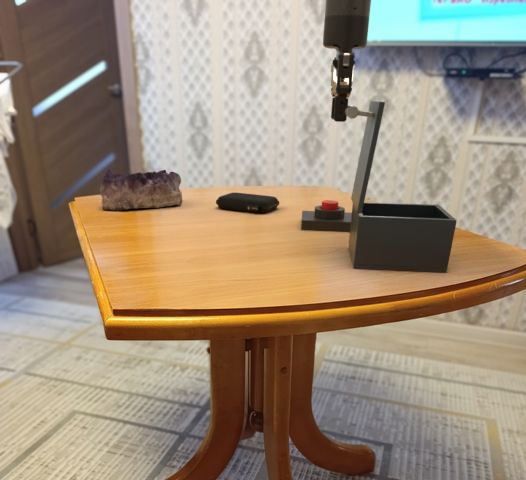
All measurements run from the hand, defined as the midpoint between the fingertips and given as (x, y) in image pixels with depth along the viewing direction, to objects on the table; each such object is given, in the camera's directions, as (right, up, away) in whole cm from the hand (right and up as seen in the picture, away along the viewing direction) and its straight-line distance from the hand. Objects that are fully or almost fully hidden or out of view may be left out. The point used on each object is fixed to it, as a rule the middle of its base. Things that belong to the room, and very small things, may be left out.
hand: (338, 120), depth 93 cm
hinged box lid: (+4, -10, -9) cm, 14 cm away
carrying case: (-18, -7, +35) cm, 40 cm away
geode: (-44, -6, +35) cm, 57 cm away
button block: (+1, -15, +20) cm, 25 cm away
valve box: (+10, -26, -2) cm, 28 cm away
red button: (+1, -11, +19) cm, 22 cm away
